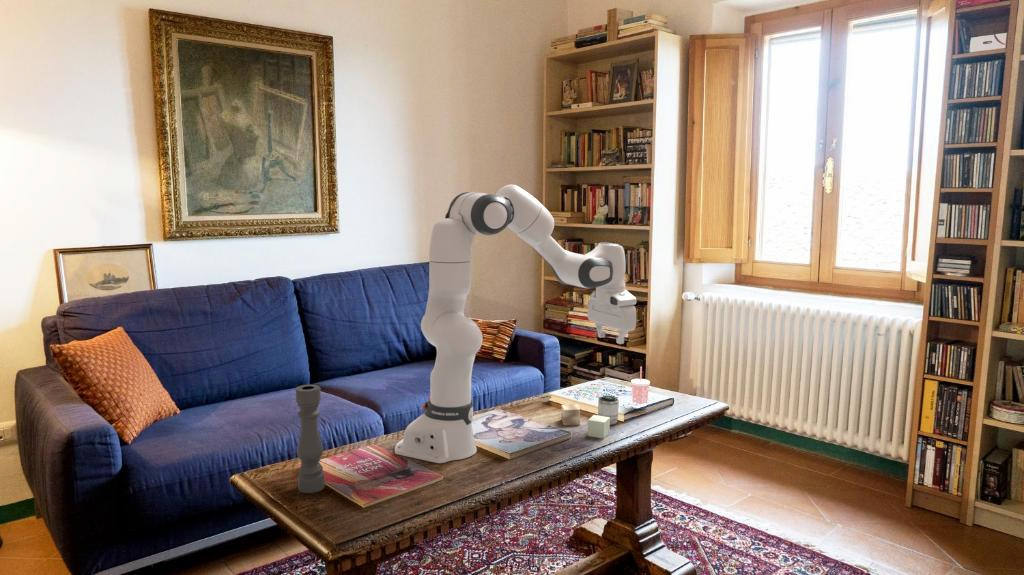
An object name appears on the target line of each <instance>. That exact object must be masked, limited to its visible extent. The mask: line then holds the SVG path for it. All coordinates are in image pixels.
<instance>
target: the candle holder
mask: <svg viewBox="0 0 1024 575" xmlns="http://www.w3.org/2000/svg"><path fill="white" fill-rule="evenodd" d="M321 396H322V394H321V386H320V385H317V384H303V385H299V386H296V387H295V402H296V405H297V406H298V408H299V411H298V412H297V417H298V418H299V419H300V433H299V439H298V443H297V444H298V445H297V448H296V454H297V457H298V458H299V460H300V463H301V465H300V467H299V468H298V472H299V473H298V475H297V489H298V491H299V492H301V493H304V494H312V493H314V494H315V493H318V492H320V491H323V489H324V488H325V486H326V485H325V472H324V471H323V470H324V466H322V464H321V463H320V462H321V458H322V455H323V454H324V446H323V443H322V439H321V436H320V432H319V426H318V423H319V422H318V418H319V416H320V415H321V411H320V409H318V408H319V405H320V403H321V398H322V397H321Z"/></svg>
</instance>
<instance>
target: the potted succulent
mask: <svg viewBox="0 0 1024 575" xmlns="http://www.w3.org/2000/svg"><path fill="white" fill-rule="evenodd" d="M597 404H598V406H597V415H598V416H604V417H610V426H611V425H616V424H617V422H618V421H619V408H620V406H619V404H620V401H619V399H618V398H617V397H616V396H612V395H602V396H601V397H599V398H598V403H597Z"/></svg>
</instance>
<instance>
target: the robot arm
mask: <svg viewBox="0 0 1024 575" xmlns="http://www.w3.org/2000/svg"><path fill="white" fill-rule="evenodd" d="M444 216H445V217H444V218H443V219H440V220H438V221H437V222H436V223H435V224H434V225H433V227H432V230H431V235H430V243H429V254H428V255H429V262H428V263H429V264H428V265H429V267H428V270H429V271H428V272H429V274H428V275H429V276H428V277H429V279H428V280H429V284H428V285H429V286H428V296H427V302H426V308H425V312H424V314H423V317H422V319H421V321H420V322H421V323H420V328H421V332H422V335H423V336H424V337H425V339H426V341H427V342H428V343H430V344H431V345H432V346H433V347H435V349H436V357H435V361H434V367H433V369H432V371H431V372H430V375H429V376H430V377H429V378H430V379H429V380H430V382H429V383H430V384H429V385H430V386H429V387H430V389H429V390H430V392H429V393H430V397H428V399H427V401H425V402H424V403H423V405H422V406H421V407H422V409H421V410H422V411H424V413H422V414H420V416H418V417H417V418H416V419H414V420H413V421H412V422H410V423H409V424H408V425H407V427H406V428H405V430H404V433H403V437H402V439H401V440H399V441H398V442H397V443H396V445H395V446H394V453H395V455H400V456H404V457H408V458H413V459H417V460H422V461H425V462H431V463H436V464H444V463H448V462H451V461H458V460H463V459H466V458H471V456H473V455H475V454H476V453H477V451H478V448H477V446H476V441H475V438H474V430H473V429H474V428H473V423H472V422H473V420H474V419H473V417H474V407H473V404H474V403H473V400H472V372H473V367H474V362H475V358H476V354H478V352H479V351H480V350H481V347H482V344H483V333H482V331H481V328H480V327H479V326H478V325H477V323H476V322H475V321H474V320H473V319H472V318H470V317H468V316H466V315H465V313H464V312H465V305H466V301H467V299H468V298H467V297H468V295H469V294H470V292H471V289H472V251H471V248H472V243H473V240H474V239H475V237H476V235H483V236H493V235H497V234H499V233H501V232H502V231H503V230H505V229H506V228H508V229H509V230H510V231H512V232H513V233H514V234H515V235H516V236H517V237H519V238H520V239H521V240H522V241H524V242H525V243H527V245H529V246H530V247H531V248H532V249H533V250H534V251H535V252H536V253H537V254H538V255H539V256H540V257H541V258H542V259H543V260H544V261H545V262H546V263H547V264H548V265H549V267H550V269H551V271H552V274H553V276H554V277H555V279H556V280H557V281H558V283H561V284H563V285H566V286H567V285H568V286H575V287H578V288H583V289H587V290H588V289H595V291H592V292H591V294H590V295H589V300H588V303H587V304H588V306H587V314H586V315H587V318H588V321H589V322H592V323H595V325H594V326H595V329H596V331H597V337H598V338H600V339H601V338H606V331H605V330H604V326H606V327H609V328H613V329H616V330H617V331H618V332H617V333H618V337H616V338H615V339H616V343H617V344H619V345H622V344H624V343H625V337H626V335H627V333H628V332H632V331H634V330H636V327H637V309H636V306H635V305H636V304H637V298H636V296H634V295H633V294H632V293H631V292H629V290H627V289H626V287H627V285H626V281H625V275H626V266H627V264H626V254H625V249H624V247H623V245H621V244H618V243H613V242H608V241H607V242H605V241H601V242H599V243H598V244H597V246H596V247H594V248H593V249H592V250H591V251H589V252H588V253H585V254H582V253H576V252H573V251H569V250H566V249H564V248H563V247H562V246H561V245H560V244H559V243H558V242H557V241H556V239H555V238H553V237H552V234H553V230H554V229H555V219H554V217H553V215H552V214H551V212H550V211H549V210H548V209H547V208H546V207H545V206H544V205H543V204H542V203H541V202H540V201H539V200H538V199H537V198H535V197H534V195H532V194H531V193H529V192H527V191H526V190H525V189H523V188H521V187H520V186H519V185H517V184H507V185H504V186H502V187H500V188H499V189H498V190H497V192H496V193H495V194H493V193H492V194H491V193H484V192H481V191H472V192H471V191H468V192H462V193H459V194H457V195H456V196H455V197H454V198H453V199H452V200H451V202H450V203H449V207H448V209H447V212H446V213H445V215H444Z"/></svg>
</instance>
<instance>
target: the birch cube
mask: <svg viewBox="0 0 1024 575" xmlns="http://www.w3.org/2000/svg"><path fill="white" fill-rule="evenodd" d="M560 417H561V422H562V425H563V426H580V425H581V409H580V406H579V404H577V403H575V404H561V416H560Z"/></svg>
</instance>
